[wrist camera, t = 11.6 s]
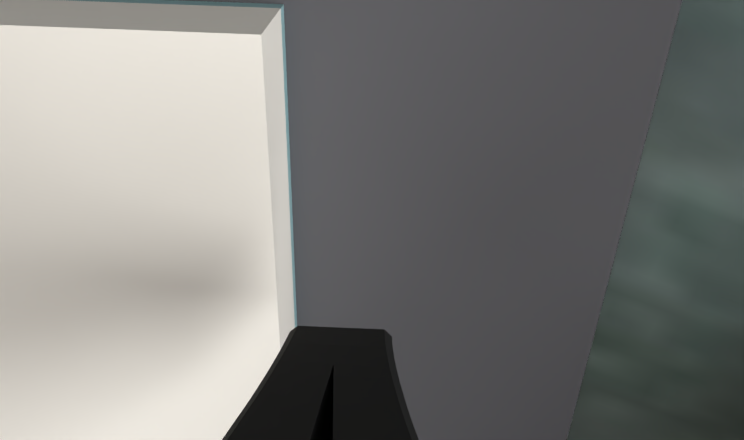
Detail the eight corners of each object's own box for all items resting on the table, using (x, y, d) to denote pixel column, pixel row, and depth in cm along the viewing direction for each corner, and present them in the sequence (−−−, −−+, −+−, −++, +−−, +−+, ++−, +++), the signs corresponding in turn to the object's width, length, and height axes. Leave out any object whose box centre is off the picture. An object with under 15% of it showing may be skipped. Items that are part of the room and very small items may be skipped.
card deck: (286, 461, 14) (-14, 445, 14) (300, 391, 15) (31, 378, 16) (261, 34, 9) (-188, 18, 9) (283, 4, 11) (-96, -10, 11)
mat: (542, 497, 18) (546, 517, 17) (11, 469, 18) (-1, 488, 18) (755, -349, 9) (775, -360, 8) (-316, -376, 9) (-360, -389, 9)
